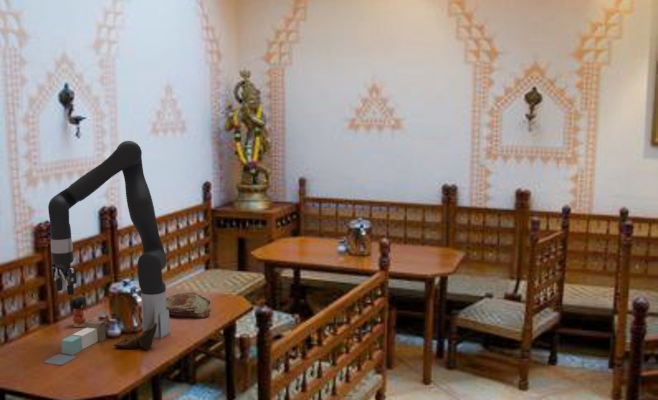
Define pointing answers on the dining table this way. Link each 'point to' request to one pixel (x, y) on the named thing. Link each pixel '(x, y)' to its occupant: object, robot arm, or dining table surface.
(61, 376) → the dining table surface
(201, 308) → the stone
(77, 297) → the figurine
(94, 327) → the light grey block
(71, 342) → the pale teal block
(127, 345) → the dark brown curved piece
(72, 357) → the pad
